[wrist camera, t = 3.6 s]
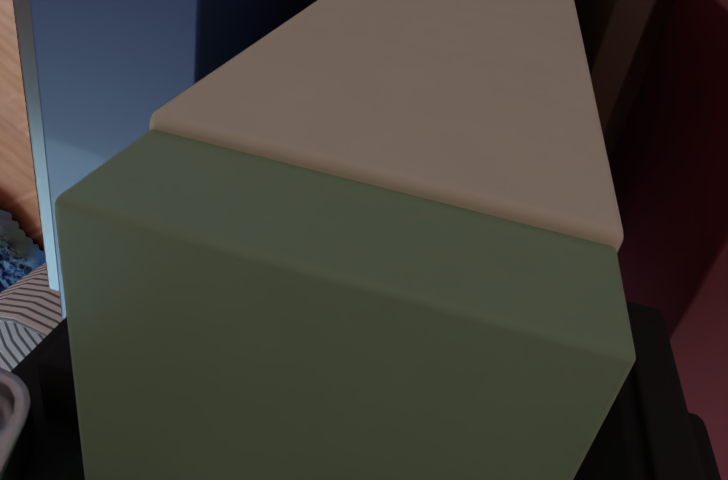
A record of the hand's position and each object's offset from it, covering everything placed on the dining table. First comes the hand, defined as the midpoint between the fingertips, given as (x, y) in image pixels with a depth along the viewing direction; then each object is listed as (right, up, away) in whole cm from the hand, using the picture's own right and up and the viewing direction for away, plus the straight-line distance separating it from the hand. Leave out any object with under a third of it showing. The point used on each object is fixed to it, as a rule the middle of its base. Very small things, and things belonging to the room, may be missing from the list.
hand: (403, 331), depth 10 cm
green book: (+2, +5, +8) cm, 10 cm away
